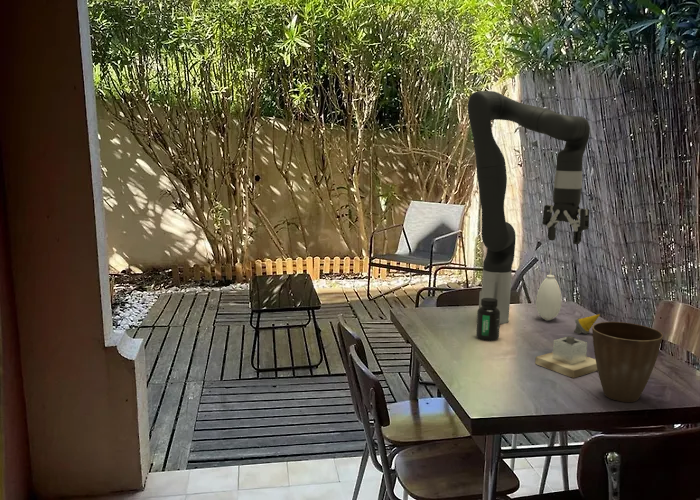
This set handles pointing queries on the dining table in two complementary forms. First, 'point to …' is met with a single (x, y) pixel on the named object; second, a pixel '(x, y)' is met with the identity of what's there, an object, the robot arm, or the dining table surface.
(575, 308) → the dining table surface
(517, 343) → the dining table surface
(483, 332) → the supplement bottle
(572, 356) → the collar
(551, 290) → the white vase
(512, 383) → the dining table surface
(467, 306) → the dining table surface
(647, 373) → the plant pot
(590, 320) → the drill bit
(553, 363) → the post block
